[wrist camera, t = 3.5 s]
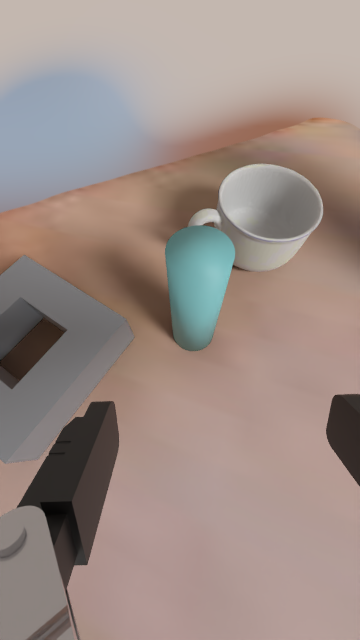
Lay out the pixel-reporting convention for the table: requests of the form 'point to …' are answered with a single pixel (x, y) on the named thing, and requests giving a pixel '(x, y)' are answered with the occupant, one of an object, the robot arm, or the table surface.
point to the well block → (51, 356)
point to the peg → (197, 282)
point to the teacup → (264, 214)
